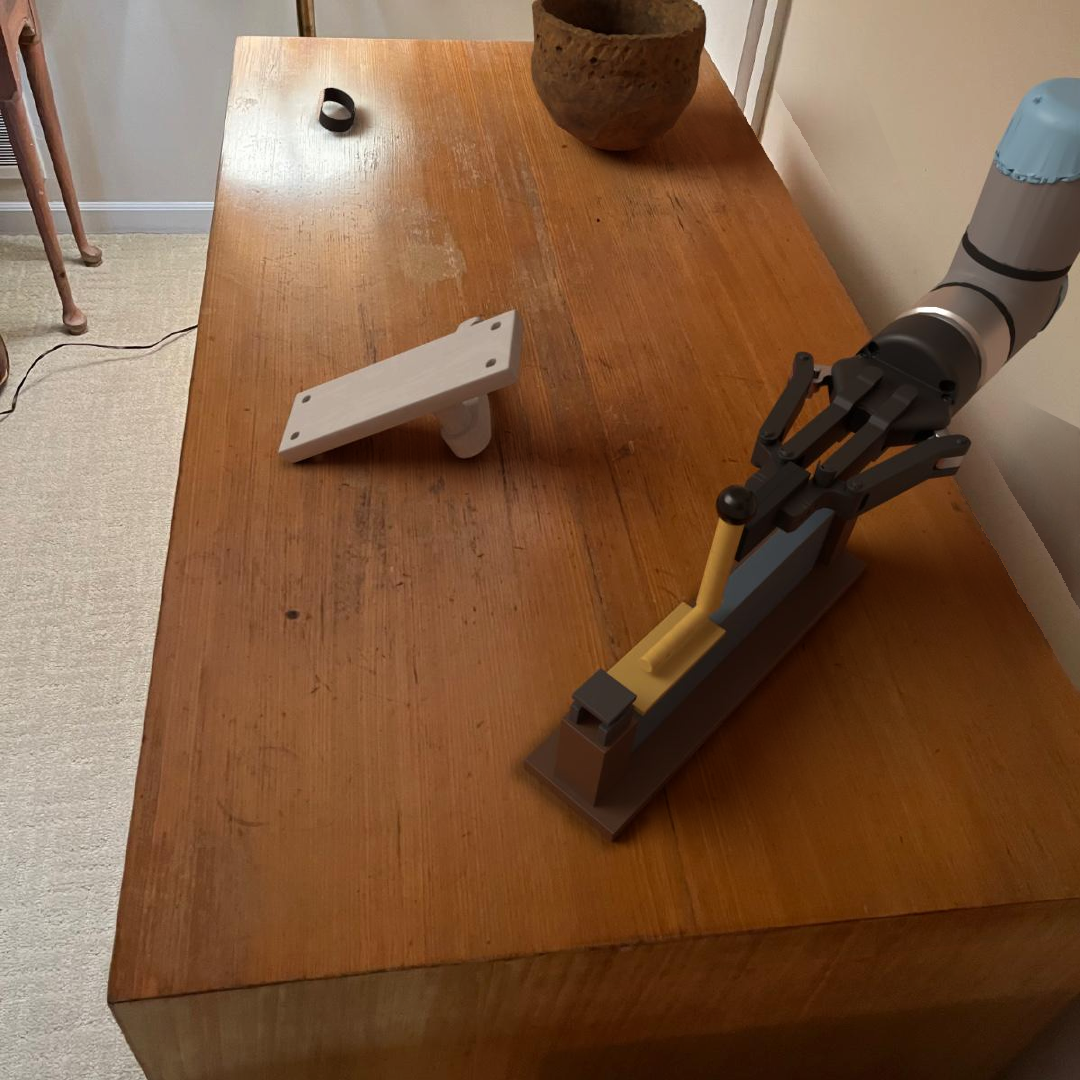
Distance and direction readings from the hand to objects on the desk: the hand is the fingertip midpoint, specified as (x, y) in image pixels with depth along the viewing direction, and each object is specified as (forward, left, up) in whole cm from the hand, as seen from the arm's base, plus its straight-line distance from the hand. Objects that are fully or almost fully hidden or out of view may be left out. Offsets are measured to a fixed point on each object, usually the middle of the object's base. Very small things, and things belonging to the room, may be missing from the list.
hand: (733, 539), depth 57 cm
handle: (+27, +20, -14) cm, 36 cm away
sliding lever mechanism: (+1, -1, -13) cm, 14 cm away
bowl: (+75, -1, -14) cm, 77 cm away
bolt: (-2, +2, -6) cm, 7 cm away
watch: (+77, +30, -14) cm, 84 cm away
